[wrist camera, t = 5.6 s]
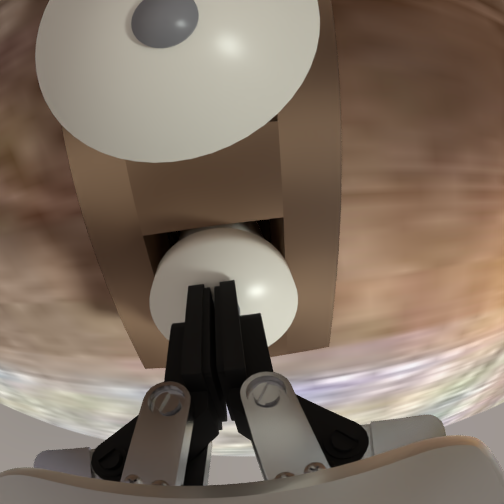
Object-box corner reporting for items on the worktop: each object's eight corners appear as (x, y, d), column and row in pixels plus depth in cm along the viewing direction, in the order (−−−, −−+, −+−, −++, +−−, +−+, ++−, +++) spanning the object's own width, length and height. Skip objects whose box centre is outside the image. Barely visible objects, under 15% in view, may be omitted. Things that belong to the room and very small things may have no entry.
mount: (98, -101, 4) (77, -130, 1) (275, -126, 5) (289, -160, 1) (154, 320, 18) (145, 368, 15) (310, 301, 19) (328, 346, 15)
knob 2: (295, 248, 16) (325, 313, 11) (217, 304, 17) (220, 377, 13) (226, 169, 14) (231, 211, 9) (145, 241, 15) (119, 307, 10)
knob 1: (304, 67, 9) (377, 49, 4) (182, 163, 10) (152, 222, 6) (204, -36, 6) (197, -118, 2) (85, 63, 8) (-6, 53, 3)
